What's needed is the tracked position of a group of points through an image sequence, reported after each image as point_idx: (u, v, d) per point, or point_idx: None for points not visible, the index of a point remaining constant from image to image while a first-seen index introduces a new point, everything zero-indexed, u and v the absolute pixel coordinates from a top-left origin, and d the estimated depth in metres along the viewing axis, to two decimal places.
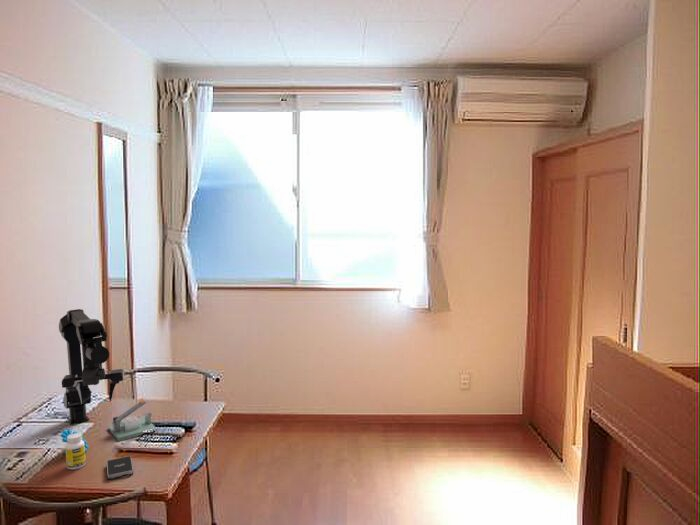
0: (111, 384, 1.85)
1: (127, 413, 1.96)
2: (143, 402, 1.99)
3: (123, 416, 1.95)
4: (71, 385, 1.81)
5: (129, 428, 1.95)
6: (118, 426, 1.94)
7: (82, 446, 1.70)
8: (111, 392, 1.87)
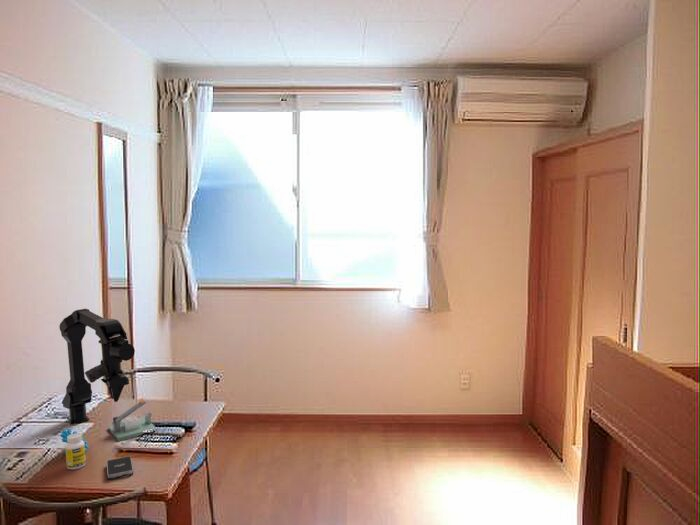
0: (107, 386, 1.88)
1: (127, 413, 1.96)
2: (143, 402, 1.99)
3: (123, 416, 1.95)
4: None
5: (129, 428, 1.95)
6: (118, 426, 1.94)
7: (82, 446, 1.70)
8: (112, 393, 1.89)
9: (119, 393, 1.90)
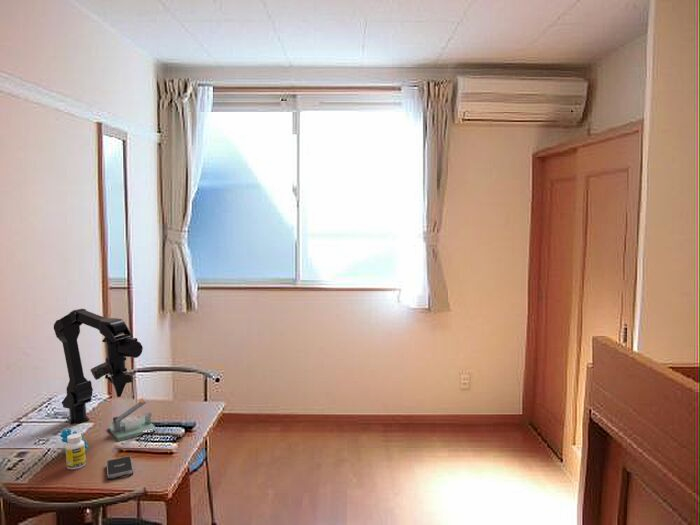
0: None
1: (127, 413, 1.96)
2: (143, 402, 1.99)
3: (123, 416, 1.95)
4: None
5: (129, 428, 1.95)
6: (118, 426, 1.94)
7: (82, 446, 1.70)
8: (115, 389, 1.97)
9: (122, 389, 1.98)
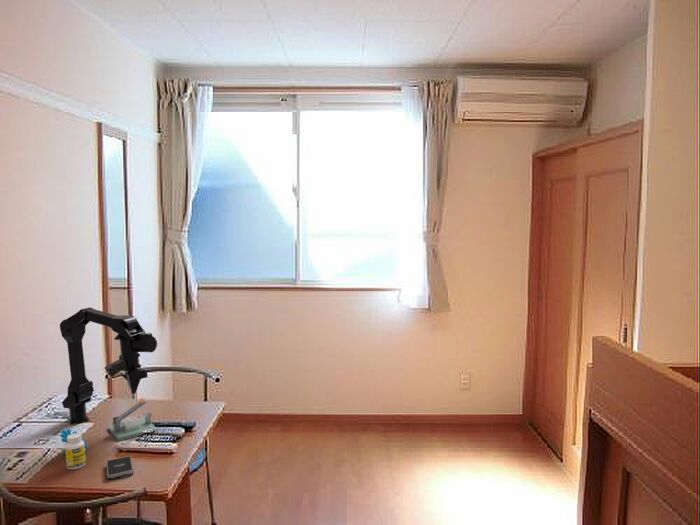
0: (125, 378, 1.96)
1: (127, 413, 1.96)
2: (143, 402, 1.99)
3: (123, 416, 1.95)
4: None
5: (129, 428, 1.95)
6: (118, 426, 1.94)
7: (82, 446, 1.70)
8: (130, 386, 1.98)
9: (136, 385, 1.99)
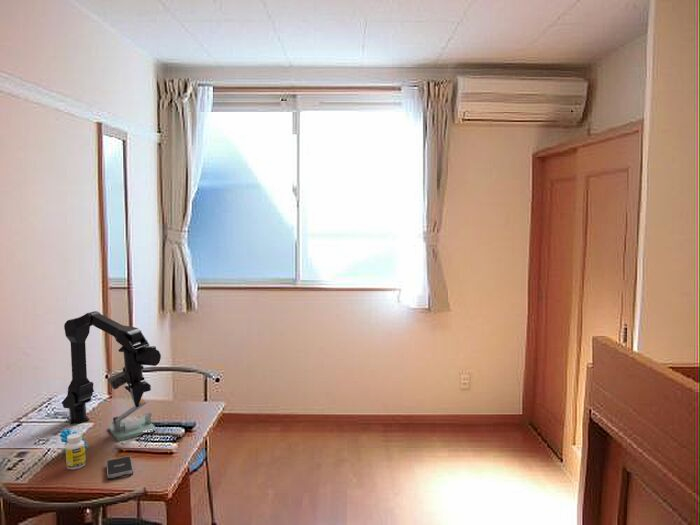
0: None
1: (127, 413, 1.96)
2: (143, 402, 1.99)
3: (123, 416, 1.95)
4: None
5: (129, 428, 1.95)
6: (118, 426, 1.94)
7: (82, 446, 1.70)
8: (133, 398, 1.97)
9: (139, 398, 1.98)
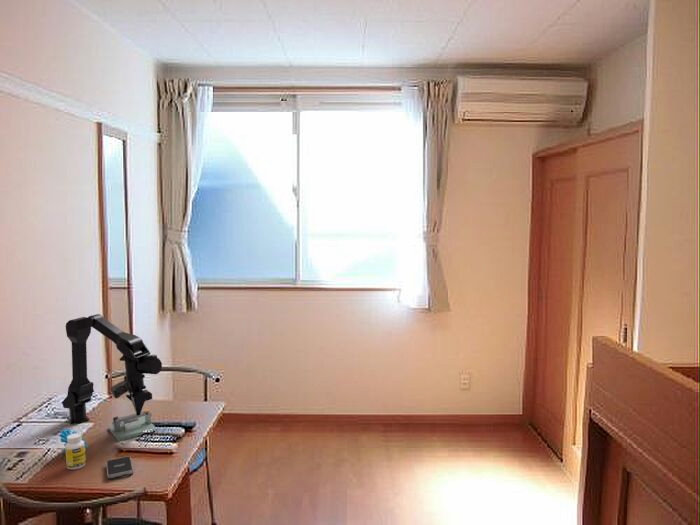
0: (130, 399, 1.96)
1: (129, 417, 1.96)
2: (147, 412, 2.00)
3: (124, 418, 1.95)
4: None
5: (129, 428, 1.95)
6: (118, 426, 1.94)
7: (82, 446, 1.70)
8: (135, 407, 1.97)
9: (141, 406, 1.98)
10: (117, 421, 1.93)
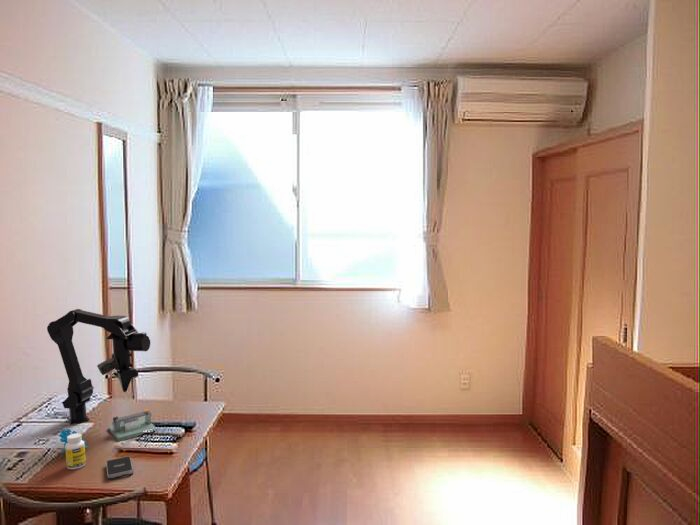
0: (117, 377, 2.01)
1: (129, 417, 1.96)
2: (147, 412, 2.00)
3: (124, 418, 1.95)
4: None
5: (129, 428, 1.95)
6: (118, 426, 1.94)
7: (82, 446, 1.70)
8: (121, 384, 2.03)
9: (128, 384, 2.04)
10: (117, 421, 1.93)
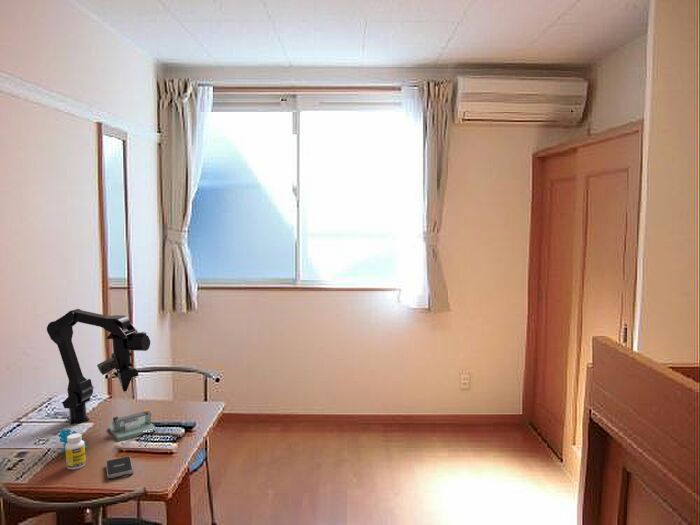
0: (117, 376, 2.02)
1: (129, 417, 1.96)
2: (147, 412, 2.00)
3: (124, 418, 1.95)
4: None
5: (129, 428, 1.95)
6: (118, 426, 1.94)
7: (82, 446, 1.70)
8: (121, 384, 2.03)
9: (128, 383, 2.04)
10: (117, 421, 1.93)
